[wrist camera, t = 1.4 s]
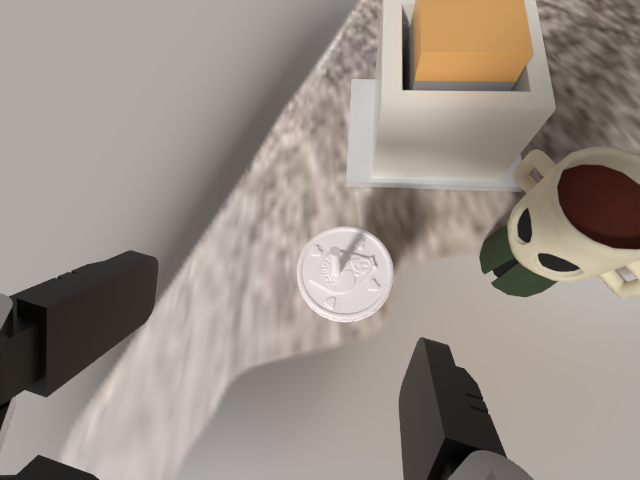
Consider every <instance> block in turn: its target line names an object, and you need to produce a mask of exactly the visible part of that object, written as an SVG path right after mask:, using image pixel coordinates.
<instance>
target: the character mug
mask: <svg viewBox="0 0 640 480" xmlns="http://www.w3.org/2000/svg"><path fill="white" fill-rule="evenodd" d="M534 168H536V169H537V170H538V172H539V173H540V174H541V175H542V176H543V177H544V178H543V179H542V180H541V181H540V182H539V183H537V182H536V181H535V179H534V178H533V177H532V176H531V175H530V172H531V171H532V170H533V169H534ZM513 178H514V180H515V181H516V182H517V183H518V185H519V186H520V187H521V188H522V189H523V190H524V191H525V193H526V195H525V196H524V197H523V198H522V199H521V200H520V201H519V202H518V203H517V204H516V205H515V206H514V208H513V209H512V212H511V215H510V219H509V221H508V224H507V225H506V226H504V227H502V228H501V229H499V230H498V231H496V232H495V233H494V234H493V235H491V236H490V237H489V238H488V239H487V240H486V241H485V242H484V243H483V246H482V250H481V253H480V256H479V258H480V263H481V268H482V272H483V273H484V274H486V273H488V272H489V271H491V270H493V272H494V275H496V276H497V277H498V278H497V279H496V280H494V281H493V282H492V285H493V286H494V287H495V288H497V289H499V290H501V291H502V292H504V293H506V294H508V295H513V296H520V297H528V296H531V295H534V294H538V293H541V292H543V291H545V290H546V289H548V288H549V287H551V286H552V285H554V284H555V283H556V282H558V281H563V282H580V281H584V280H587V279H590V278H594V277H597V276H599V277H600V278H601V279H602V280H603V281H604V283H605V284H606V285H607V286H608V287H609V288H610V289H611V291H612V292H613V293H615V294H616V295H617V296H618V297H620V298H632V297H636V296H640V155H639V154H636V153H633V152H630V151H627V150H623V149H620V148H617V147H596V146H591V147H588V148H585V149H582V150H579V151H575V152H572V153H570V154H569V155H568V156H566V157H565V158H564V159H563V160H562V161H561V162H559V163H558V164H557V165H556V164H555V163H554V162H553V161H552V160H551V159H550V158H549V157H548V156H547V155H546V154H545V153H544V152H543V151H541V150H537V149H535V150H533V151H530V152H529V153H528V155H527V156H526V157H525V158H524V159H523V161H522V162H521V163H520V164H519V165H518V167H517V168H516V169H515V170H514V172H513ZM623 266H626V267H627V268H628V269H629V271H630V272H631V273H632V274H633V275H634V276H635V277H636V278H637V279H635V280H633V281H629V282H627V281H626V280H625V279H624V278H623V277H622V276H621V275H620V273H619V272H618V271H617V270H616V269H618V268H620V267H623Z"/></svg>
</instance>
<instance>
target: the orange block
mask: <svg viewBox="0 0 640 480" xmlns="http://www.w3.org/2000/svg"><path fill="white" fill-rule="evenodd" d="M532 54H533V47H532V42H531V36H530V30H529V25H528V19H527V13H526V8H525V2H524V0H415V4H414V10H413V15H412V20H411V25H410V31H409V36H408V41H407V47H406V52H405V57H404V90H421V91H511V89H512V88H513V86H514V84H515V83H516V81H517V79H518V78H519V76H520V74H521V72H522V71H523V69H524V67H525V66H526V64H527V62H528V61H529V59H530V57H531V55H532Z"/></svg>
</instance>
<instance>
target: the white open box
mask: <svg viewBox="0 0 640 480" xmlns="http://www.w3.org/2000/svg"><path fill="white" fill-rule="evenodd" d="M524 2H525V8H526V13H527V19H528V25H529V30H530V36H531V42H532V47H533V54H532V55H531V57H530V59H529V61H528V62H527V64H526V66H525V67H524V69H523V71H522V72H521V74H520V76H519V78H518V79H517V81H516V83H515V84H514V86H513V88H512V89H511V91H421V90H404V57H405V52H406V47H407V41H408V36H409V31H410V25H411V20H412V15H413V10H414V4H415V0H383V3H382V12H381V22H380V32H379V42H378V52H377V62H376V72H375V79H352V87H351V104H350V121H349V138H348V155H347V173H346V186H354V187H383V188H411V189H440V190H469V191H498V192H522V191H523V189H522V188H521V187H520V186H519V185H518V183H517V182H516V181H515V180H514V178H513V172H514V170H515V169H516V168H517V167H518V165H519V164H520V163H521V162H522V157H521V152H522V151H523V150H524V148H525V147H526V146H527V145H528V144H529V142H530V141H531V140H532V139H533V137H534V136H535V135H536V134H537V132H538V131H539V130H540V129H541V127H542V126H543V125H544V124H545V122H546V121H547V120H548V119H549V117H550V116H551V115H552V114H553V112H554V111H555V110H556V105H555V100H554V95H553V89H552V84H551V79H550V74H549V68H548V63H547V58H546V53H545V48H544V42H543V37H542V32H541V27H540V22H539V16H538V11H537V6H536V1H535V0H524Z"/></svg>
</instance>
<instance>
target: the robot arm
mask: <svg viewBox="0 0 640 480" xmlns="http://www.w3.org/2000/svg"><path fill="white" fill-rule="evenodd" d="M157 275H158V261H157V259H156V258H155V257H152V256H149V255H145V254H142V253H138V252H135V251H132V250H130V251H127V252H124V253H122V254H120V255H117V256H115V257H113V258H110V259H108V260H106V261H102V262H96V263H92V264H87V265H85V266H82V267H80V268H77V269H75V270H73V271H72V272H71V273H70V272H68V273H65V274H63V275H60V276H58V278H53V279H50V280H48V281H46V282H43V283H41V284H38V285H36V286H33V287H31V288H29V289H26V290H24V291H21V292H19V293H16V294H14V295H12V296H9V297H8V296H5V295H3V294H0V452H1V449H2V446H3V442H4V440H5V437H6V434H7V431H8V428H9V425H10V422H11V419H12V416H13V413H14V410H15V406H16V395H18V394H19V393H21V392H22V391H24V390H27V391H30V392H32V393H35V394H38V395H41V396H44V397H48V396H49V395H51V394H52V393H53V392H54V391H56V390H57V389H58V388H60V387H61V386H62V385H64V384H65V383H66V382H67V381H69V380H70V379H72V378H73V377H74V376H75V375H77V374H78V373H80V372H81V371H82V370H83V369H85V368H86V367H87V366H89V365H90V364H91V363H93V362H94V361H95V360H96V359H98V358H99V357H101V356H102V355H103V354H104V353H106V352H107V351H108V350H110V349H111V348H112V347H114V346H115V345H116V344H118V343H119V342H120V341H122V340H123V339H124V338H126V337H127V336H128V335H129V334H131V333H132V332H134V331H135V330H136V329H138V328H139V327H140V326H142V325H143V324H144V323H145V322H146V321H147V320H148V318H149V317H150V315H151V313H152V311H153V308H154V303H155V293H156V284H157ZM399 418H400V431H401V444H402V445H401V447H402V461H403V474H404V475H403V476H404V480H533V479H532V477H531V476H530V475H528V473H526V472H525V471H524V470H523V469H522V468H521V467H519V466H518V465H517V464H515V463H514V462H513V461H511V460H509V459H508V458H507V456H506V454H505V452H504V449H503V446H502V444H501V441H500V439H499V436H498V434H497V432H496V429H495V427H494V424H493V422H492V419H491V417H490V415H489V414H488V409H487V407H486V404H485V402H484V401H483V397H482V394H481V392H480V389H479V387H478V384H477V383H476V382H475V381H474V379H473V378H472V377H471V376H470V375H469V373H468V372H467V371H466V370H465V369H464V368H461V367H457V366H456V365H455V362H454V359H453V356H452V353H451V350H450V348H449V346H448V345H446V344H443V343H439V342H436V341H433V340H430V339H426V338H423V337H421V338H420V339H419V340H418V342H417V345H416V347H415V350H414V352H413V355H412V358H411V360H410V363H409V366H408V369H407V371H406V375H405V377H404V379H403V382H402V386H401V390H400V395H399ZM0 480H99V479H98V478H97V477H95V476H94V475H92V474H90V473H87V472H84V471H81V470H79V469H76V468H73V467H71V466H68V465H65V464H62V463H60V462H57V461H54V460H51V459H49V458H46V457H43V456H40V455H38V456H37V457H35V458H34V459H33V460H32V461H31V462H30V463H29V464H28V465H27V466H26V467H24V468H23V469H22V470H21V471H20V472H19V473H18V474H17V475H0Z"/></svg>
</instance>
